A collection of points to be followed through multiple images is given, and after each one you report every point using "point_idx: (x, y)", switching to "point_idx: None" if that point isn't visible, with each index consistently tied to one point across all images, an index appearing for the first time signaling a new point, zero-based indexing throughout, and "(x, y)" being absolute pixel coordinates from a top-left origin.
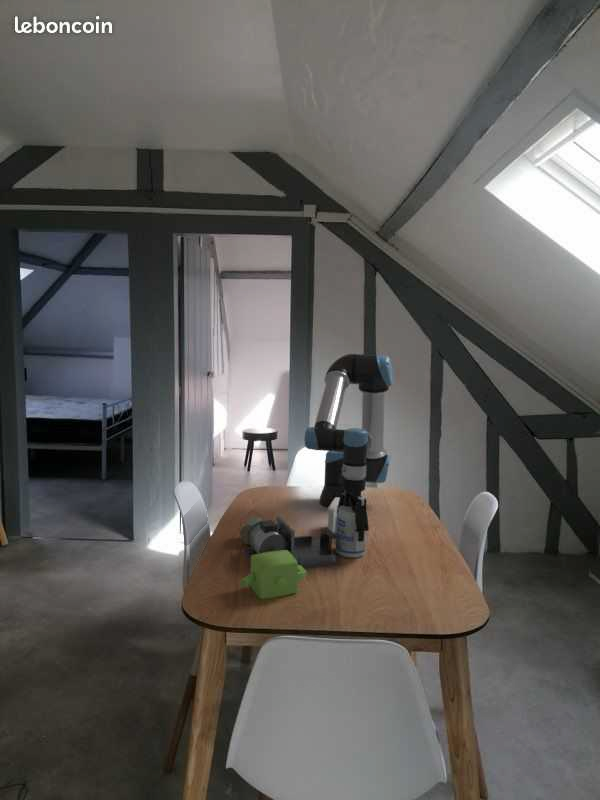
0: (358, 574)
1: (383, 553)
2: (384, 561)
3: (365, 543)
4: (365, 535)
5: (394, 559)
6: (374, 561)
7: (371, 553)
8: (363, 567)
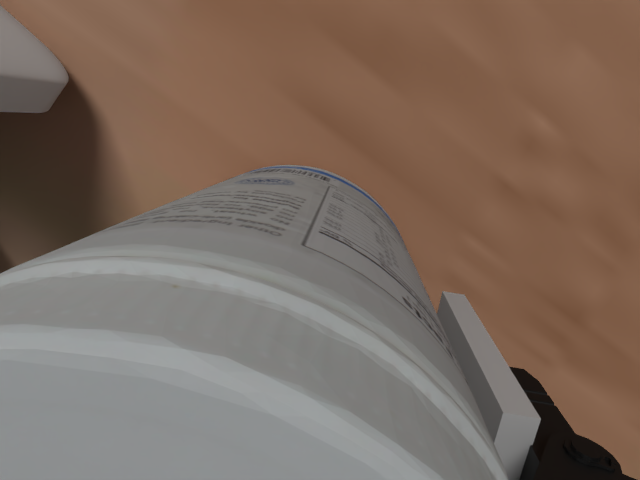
0: (632, 438)
1: (424, 21)
2: (567, 130)
3: (379, 213)
4: (407, 260)
5: (585, 13)
6: (521, 207)
7: (375, 125)
8: (562, 345)
